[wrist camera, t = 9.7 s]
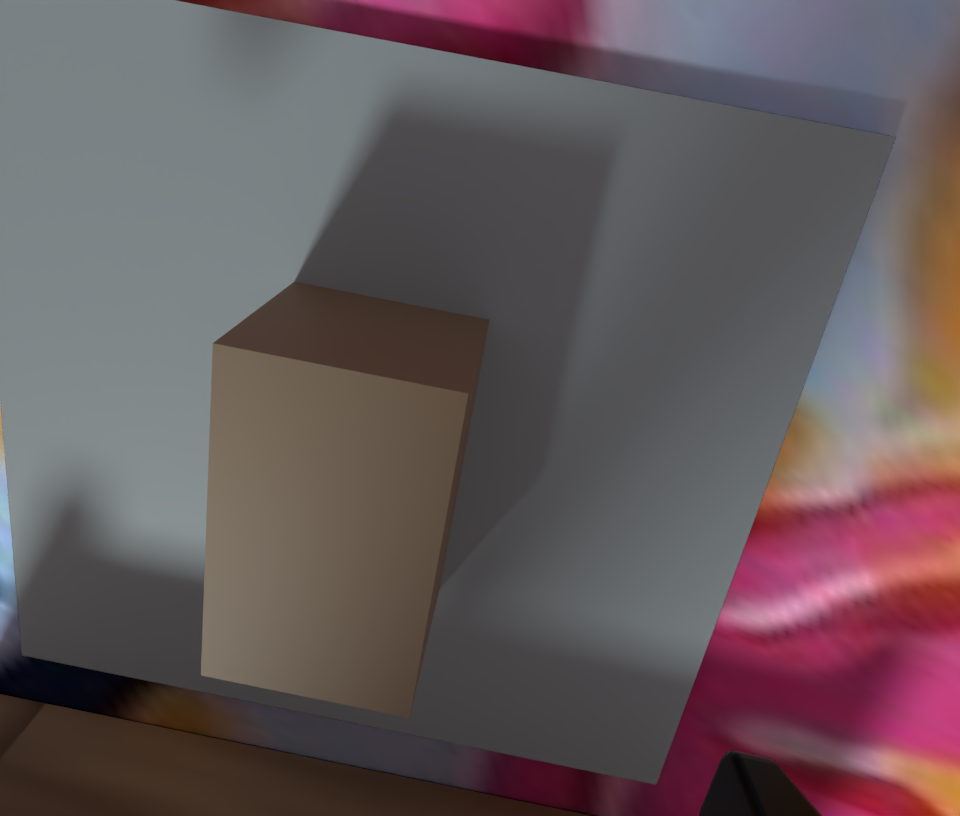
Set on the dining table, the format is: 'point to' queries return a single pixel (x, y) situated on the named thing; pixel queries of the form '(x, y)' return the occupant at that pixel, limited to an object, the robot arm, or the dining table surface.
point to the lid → (395, 369)
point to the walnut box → (197, 775)
